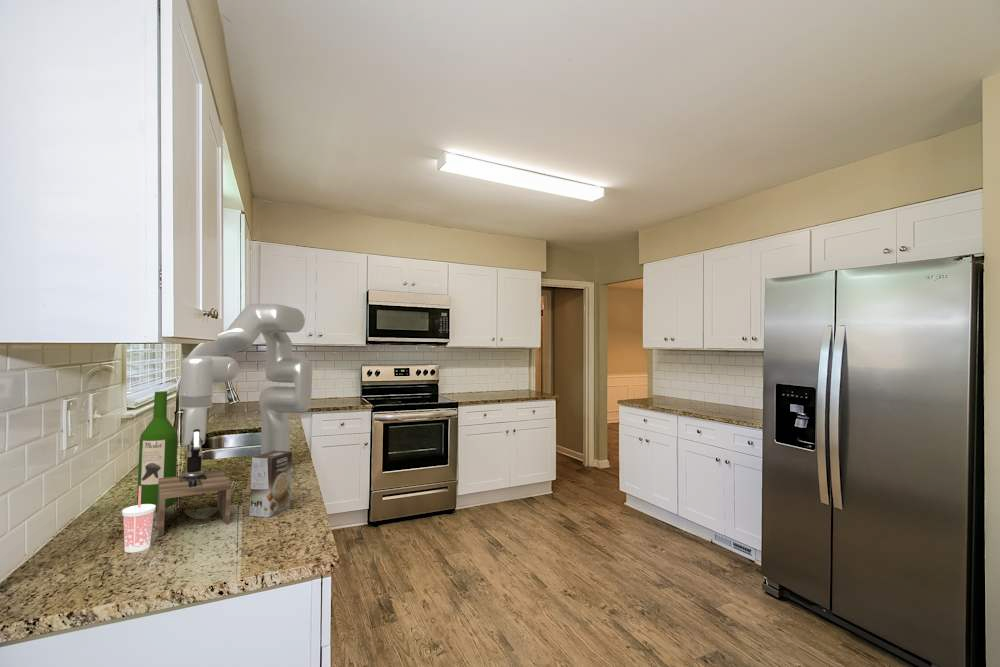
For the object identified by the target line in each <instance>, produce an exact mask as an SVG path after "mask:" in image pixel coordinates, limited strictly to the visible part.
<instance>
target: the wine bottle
mask: <svg viewBox="0 0 1000 667" xmlns="http://www.w3.org/2000/svg"><path fill="white" fill-rule="evenodd" d="M153 401H154V402H153V414H152V420H151V421H150V422H149V424H148V425H147V426H146V428H145V429H144V430H143V431H142V432H141V433H140V436H139V448H138V472H137V477H138V478H137V492H136V493H137V495H136V498H137V499H136V505H138V494H139V486H141V504H154V505H156V507H155V511H157V505H158V481H159V478H166V477H174V476H177V466H178V465H177V462H178V438H179V437H178V432H177V429H176V428H175V427H174V425H173V424H172V423H171V422H170V421H169V419H168V416H167V413H168V412H167V411H168V410H167V409H168V392H167V391H155V392H154V400H153ZM175 502H176V497H174V498H167V499H165V508H168V507H171V506H173V505H174V504H175Z"/></svg>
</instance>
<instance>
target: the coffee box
mask: <svg viewBox="0 0 1000 667" xmlns="http://www.w3.org/2000/svg"><path fill="white" fill-rule="evenodd" d="M292 462H293V451H290V450H289V451H271V452H267V453H264V454H261V453H260V454H256V455H253V456H251V471H250V472H251V473H250V475H251V476H250V496H249V514H248V515H249V516H250V517H260V518H267V519H268V518H270V517H273V516H275V515H278V514H279V513H281V512H284V511H286V510H288V509H290V507H291V491H292V488H291V486H292V474H291V469H292V468H293V466H292V464H293V463H292Z"/></svg>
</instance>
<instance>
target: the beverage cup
mask: <svg viewBox="0 0 1000 667" xmlns="http://www.w3.org/2000/svg"><path fill="white" fill-rule="evenodd" d="M155 507H156V505H154V504H141V486H139V494H138V505H137V504H136V505H132V506H128V507H125V508H123V509H122V511H121V513H122V517H123V541H124V543H123V545H124V547H123V548H124V552H125V553H139V552H143V551H145V550H147V549H149V548H150V547H151V540H152V539H151V538H152V531H153V521H154V514H155V511H156V510H155Z"/></svg>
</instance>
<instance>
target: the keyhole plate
mask: <svg viewBox="0 0 1000 667" xmlns="http://www.w3.org/2000/svg"><path fill="white" fill-rule="evenodd" d="M198 480H200V484H199V485H201V486H196V487H189V478H182V475H176V476H174V477H166V478H159V481H158V505H157V509H156V520H157V532H158V533H157V534H158V537H162V536H164V532H165V509H166V507H165V499H167V498H174V497H175V498H181V497H186V496H194V495H200V494H201V495H202V494H209V493H214V492H217V498H216V507H217V509H218V511H219V514H220V516H221V518H222V521H223V523H224V524H225V525H229V524H230V523H231V521H230V520H231V496H232V495H231V493H232V492H231V491H232V490H231V489H232V484H231V483H230V481H229V478H227V476H226V473H224V471H223V470H216V471H208V472H204V475H203V476H201V477H197V481H198Z"/></svg>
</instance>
